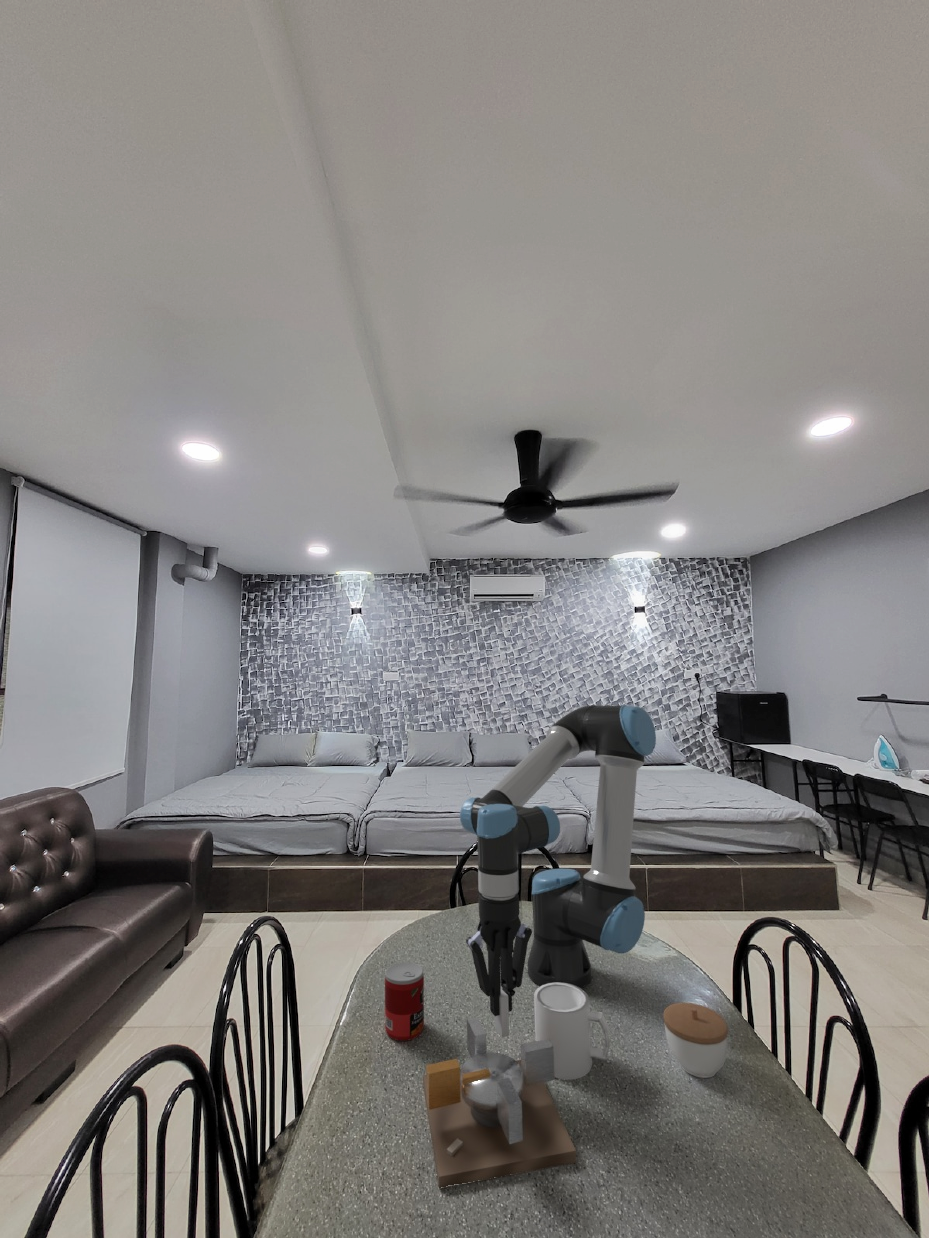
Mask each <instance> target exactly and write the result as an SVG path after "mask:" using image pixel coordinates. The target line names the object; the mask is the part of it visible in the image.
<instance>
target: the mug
mask: <svg viewBox="0 0 929 1238" xmlns="http://www.w3.org/2000/svg"><path fill="white" fill-rule="evenodd" d="M533 994H534V995H533V1001H534V1002H533V1003H534V1004H533V1006H534V1007H533V1009H534V1031H535V1032H534V1037H535V1041H534V1042H536V1041H540V1040H545V1039H549V1041H550V1042H551V1044H552V1045H553V1051H554V1078H556V1079H558V1080H564V1081H565V1080H568V1081H570V1080H571V1081H572V1080H576V1079H578V1080H579V1079H580V1078H583V1077H584V1076H586V1075H588V1074H589V1072H591V1069H592V1066H593V1059H595V1060H599V1061H605V1062H606V1061H607V1058H608V1054H609V1050H610V1045H611V1044H610V1043H611V1040H610V1036H611V1035H610V1027H609V1024H608V1022H607V1020H606V1018H605V1015H604V1014H603V1012H602V1011H596V1010H590V998H589V995H588V993H587V992H586V991H584V990H583V989H582V988H579V987H577V986H575V985H572V984H568V983H560V982H555V983H548V984H545V985H542V986H540V985H539V986H538V988H536V989H535V991H534V993H533ZM591 1022H596V1023H599V1025H600V1027H601V1030H602V1031H603V1034H604V1035H603V1036H604V1046H603V1048H598V1047H593V1046H592V1034H591V1029H592V1028H591Z"/></svg>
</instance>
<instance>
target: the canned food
mask: <svg viewBox="0 0 929 1238" xmlns="http://www.w3.org/2000/svg"><path fill="white" fill-rule="evenodd" d="M384 974H385V975H384V1027H385V1028H384V1029H385V1032H386V1034H387V1036H388V1037H389V1038H391V1039H392V1040H396V1041H401V1042H403V1041H404V1042H405V1041H410V1040H413V1039H416V1038H417V1037H419V1036H420V1035H421V1034H422V1033H423V1030H424V1027H425V1018H424V1017H425V990H424V989H425V983H424V982H425V980H424V979H425V977H424V975H425V973H424V968H423V967H422V966H421V965H420V964H418V963H416V962H410V961H403V962H402V961H401V962H397V963H394V964H391V965H390V966H389V967H387V968H386V970H385V973H384Z"/></svg>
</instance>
